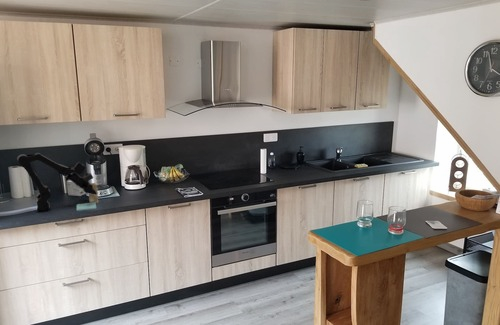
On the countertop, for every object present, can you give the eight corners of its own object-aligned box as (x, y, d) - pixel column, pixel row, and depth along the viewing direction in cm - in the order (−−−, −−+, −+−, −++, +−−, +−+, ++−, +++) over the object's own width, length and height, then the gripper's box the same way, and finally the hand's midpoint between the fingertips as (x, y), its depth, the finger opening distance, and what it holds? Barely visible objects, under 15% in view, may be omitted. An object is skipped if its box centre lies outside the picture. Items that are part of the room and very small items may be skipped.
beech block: (91, 203, 266) (89, 185, 263) (89, 201, 270) (87, 183, 267) (98, 202, 269) (97, 184, 266) (96, 200, 273) (95, 182, 270)
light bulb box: (86, 193, 288) (85, 179, 286) (80, 196, 282) (78, 182, 280) (74, 192, 291) (72, 178, 289) (67, 195, 285) (66, 181, 282)
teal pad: (76, 211, 251) (76, 209, 251) (76, 205, 261) (76, 204, 261) (96, 208, 255) (96, 207, 255) (95, 203, 266) (95, 202, 266)
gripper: (88, 172, 255) (106, 186, 263) (82, 167, 270) (99, 180, 278) (76, 186, 252) (95, 199, 260) (71, 180, 267) (89, 192, 275)
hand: (95, 192), depth 269 cm, fingers open, 9 cm apart
